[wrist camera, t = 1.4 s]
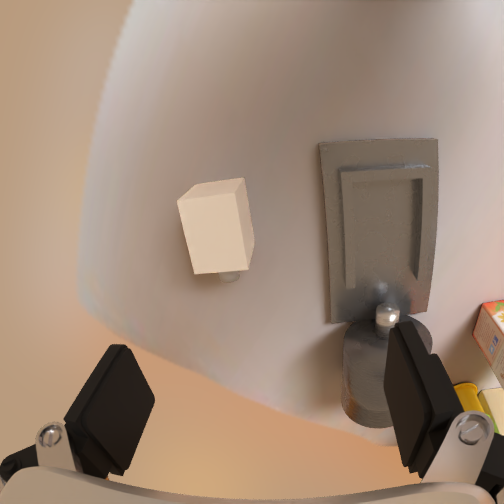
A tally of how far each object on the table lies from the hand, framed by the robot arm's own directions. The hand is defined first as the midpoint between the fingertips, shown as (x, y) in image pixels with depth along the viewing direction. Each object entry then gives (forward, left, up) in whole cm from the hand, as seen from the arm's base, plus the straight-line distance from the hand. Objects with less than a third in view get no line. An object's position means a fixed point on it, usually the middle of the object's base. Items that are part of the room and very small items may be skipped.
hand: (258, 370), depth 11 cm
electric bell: (+10, +10, -23) cm, 27 cm away
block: (+1, -6, -23) cm, 24 cm away
